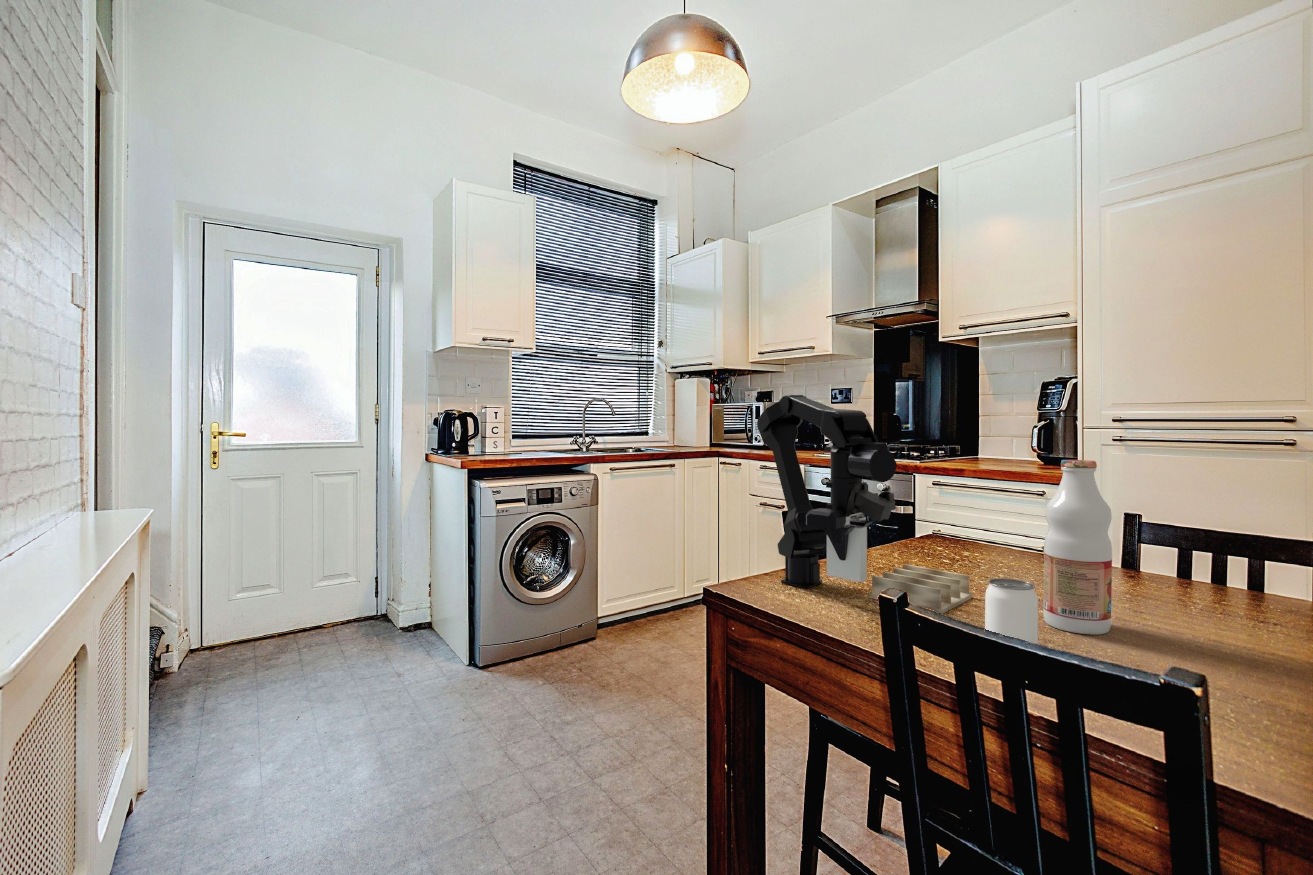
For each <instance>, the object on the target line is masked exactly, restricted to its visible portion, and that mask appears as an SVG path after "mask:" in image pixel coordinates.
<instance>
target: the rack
mask: <svg viewBox="0 0 1313 875" xmlns="http://www.w3.org/2000/svg"><path fill="white" fill-rule="evenodd" d="M892 572H893V573H892ZM892 572H888V571H882V577H881V576H878V575H872V576H871V577H872V579H871V592H869V593H868V598H869V597H870V598H869V599H872V598H874V599H875V600H877V596H878V595H879V594H880V592H881V591H882V590H884V589H887V588H895V589H899V590H902V591H905V592H907V593H908V597H909V603H910V604H912V605H914V606H919V607H923V608H928V609H931V610H934V611H936V612H939V613H943V614H945V613H947V612H948V610H949V611H950V610H953V609H954V608H956V607H958V606H960V605H962V604H963V603H965V602H967V601H969V600H971V599H972V598H973V595H974V594H973V593H971V592H970V575H968V574H963V573H956V572H950V571H946V570H940V569H936V568H930V567H924V566H918V565H913V564H906V563H903V564H902V568H899V567H893V570H892ZM874 599H873V600H874ZM952 608H953V609H952ZM943 614H942V615H943Z"/></svg>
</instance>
